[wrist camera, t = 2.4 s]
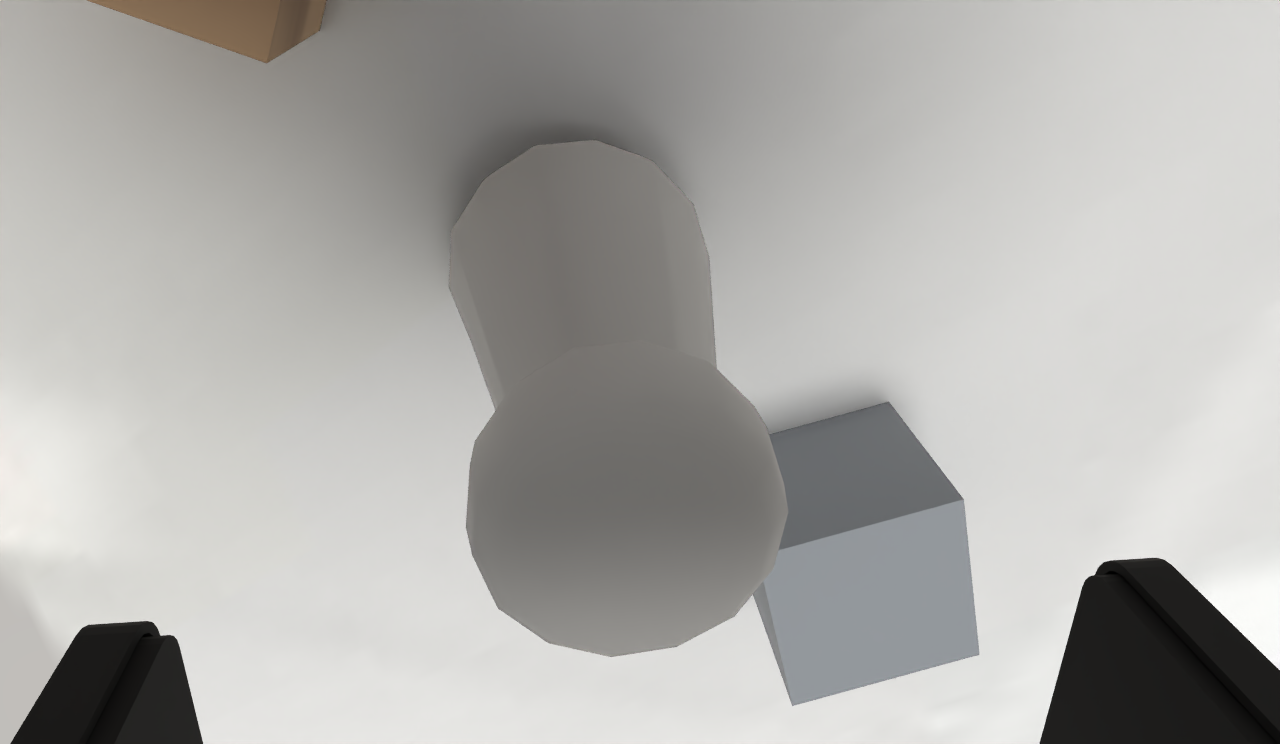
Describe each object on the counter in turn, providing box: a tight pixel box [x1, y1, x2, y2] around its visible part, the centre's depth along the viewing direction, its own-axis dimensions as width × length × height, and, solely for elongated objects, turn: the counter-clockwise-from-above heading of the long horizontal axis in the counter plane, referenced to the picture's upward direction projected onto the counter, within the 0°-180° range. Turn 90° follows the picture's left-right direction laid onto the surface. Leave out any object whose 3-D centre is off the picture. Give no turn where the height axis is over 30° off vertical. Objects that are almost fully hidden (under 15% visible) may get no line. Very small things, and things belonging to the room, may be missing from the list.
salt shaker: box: [449, 140, 788, 657], centre depth 18 cm, size 6×6×13 cm
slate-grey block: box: [753, 402, 979, 706], centre depth 26 cm, size 5×5×5 cm
